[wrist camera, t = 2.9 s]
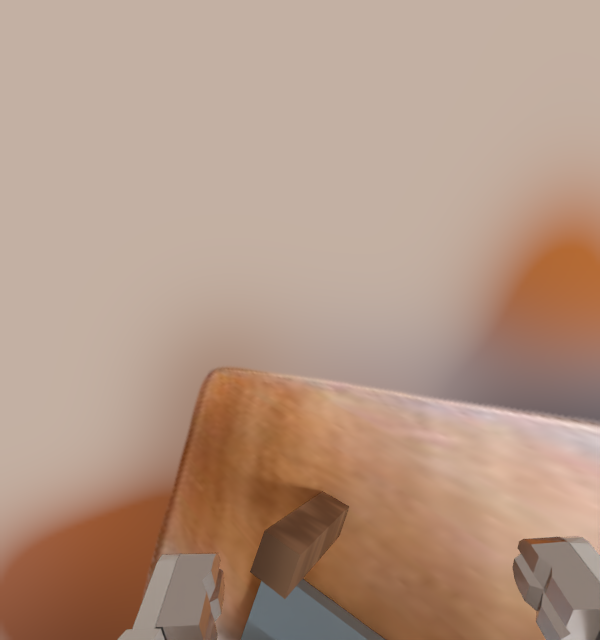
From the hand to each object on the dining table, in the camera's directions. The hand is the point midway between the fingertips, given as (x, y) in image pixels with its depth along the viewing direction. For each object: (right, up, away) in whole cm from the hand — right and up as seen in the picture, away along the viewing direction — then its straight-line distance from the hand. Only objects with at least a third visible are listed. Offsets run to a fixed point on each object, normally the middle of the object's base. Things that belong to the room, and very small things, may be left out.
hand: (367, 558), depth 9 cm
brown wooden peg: (+1, -13, +25) cm, 28 cm away
